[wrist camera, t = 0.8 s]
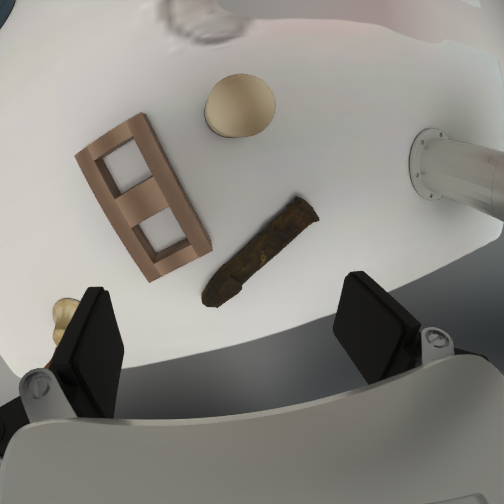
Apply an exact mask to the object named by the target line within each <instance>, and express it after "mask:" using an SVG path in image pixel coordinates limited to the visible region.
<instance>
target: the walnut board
mask: <svg viewBox="0 0 504 504" xmlns="http://www.w3.org/2000/svg"><path fill="white" fill-rule="evenodd" d="M132 139H135V141H136V143H137V145H138V147H139V149H140V151H141V153H142V155H143V157H144V159H145V161H146V163H147V165H148V167H149V169H150V171H151V173H152V175H153V176H151V177H149V178H148V179H146V180H144V181H142V182H141V183H139V184H137V185H136V186H134V187H132V188H131V189H129V190H127V191H126V192H124V193H122V194H121V193H120V191H119V190H118V188H117V186H116V184H115V182H114V180H113V178H112V177H111V175H110V173H109V171H108V169H107V167H106V165H105V163H104V161H103V159H102V158H103V157H105V156H106V155H108V154H110V153H111V152H113V151H114V150H116V149H117V148H119V147H121V146H122V145H124V144H125V143H127V142H129V141H130V140H132ZM75 158H76V160H77V162H78V164H79V166H80V168H81V170H82V172H83V174H84V176H85V178H86V180H87V182H88V184H89V186H90V188H91V189H92V191H93V193H94V195H95V197H96V199H97V200H98V202H99V204H100V206H101V208H102V209H103V211H104V213H105V214H106V216H107V218H108V220H109V221H110V223H111V225H112V226H113V228H114V230H115V231H116V233H117V235H118V236H119V238H120V239H121V241H122V243H123V244H124V246H125V247H126V249H127V250H128V252H129V254H130V255H131V257H132V258H133V260H134V261H135V263H136V264H137V266H138V267H139V269H140V270H141V272H142V273H143V275H144V276H145V277H146V279H147V280H148V282H149V283H150V282H152V281H154V280H156V279H158V278H160V277H162V276H164V275H166V274H168V273H170V272H172V271H174V270H175V269H177V268H179V267H181V266H183V265H185V264H187V263H189V262H191V261H193V260H195V259H197V258H199V257H201V256H203V255H205V254H207V253H209V252H211V251H213V249H212V244H211V241H210V239H209V237H208V235H207V233H206V231H205V229H204V228H203V226H202V224H201V222H200V220H199V218H198V216H197V215H196V213H195V211H194V209H193V207H192V205H191V203H190V201H189V199H188V197H187V196H186V194H185V192H184V190H183V188H182V186H181V184H180V182H179V180H178V178H177V176H176V174H175V172H174V170H173V168H172V166H171V165H170V163H169V161H168V159H167V157H166V155H165V153H164V151H163V149H162V147H161V145H160V143H159V141H158V139H157V137H156V135H155V133H154V130H153V128H152V126H151V124H150V122H149V120H148V118H147V116H146V114H144V113H142V112H141V113H139V114H137V115H135V116H134V117H132V118H130V119H128V120H127V121H125V122H123V123H122V124H120V125H119V126H117V127H115V128H114V129H112V130H111V131H109V132H108V133H106V134H104V135H103V136H101V137H100V138H99V139H97V140H96V141H94V142H93V143H91V144H90V145H88V146H87V147H86V148H84V149H83V150H81V151H80V152H79V153H77V154H76V155H75ZM169 206H170V208H171V210H172V212H173V214H174V215H175V217H176V219H177V221H178V223H179V224H180V226H181V228H182V230H183V232H184V233H185V235H186V237H187V238H186V239H184V240H182V241H180V242H178V243H176V244H174V245H172V246H170V247H169V248H167V249H165V250H163V251H161V252H159V253H157V254H156V253H155V251H154V249H153V248H152V246H151V245H150V243H149V241H148V240H147V238H146V236H145V235H144V233H143V232H142V230H141V228H140V226H139V225H138V224H139V223H140V222H142V221H144V220H146V219H147V218H149V217H151V216H153V215H155V214H156V213H158V212H160V211H162V210H164V209H165V208H167V207H169Z"/></svg>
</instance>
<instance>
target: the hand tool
mask: <svg viewBox="0 0 504 504" xmlns="http://www.w3.org/2000/svg"><path fill="white" fill-rule="evenodd" d="M317 221H319V217H318V216H317V214H316V212H315V211H314V209H313V207H312V206H310V205H309V204H308V203H307V202H306V201H305V200H304V199H302V198H301V197H296V198H295V201H294V203H293V204H290V205H288V206H287V209H286V210H285V211H284V212H283V213H282V214H281V215H280V216H279V217H277V218H276V219H275V220H274V221H273V222H272V223H271V224H270V226H268V227H267V228H266V229H265V230H264V231H263V232H262V233H259V234H258V236H257V237H256V238H255V239H254V240H253V241H252V242H251V243H250V244H249V245H248V246H247V247H245V248H244V249H243V250H242V251H241V252H240V253H239V254H238V255H237V256H236V257H235V258H233V259H232V260H231V261H230V262H229V263H227V264H224V265H223V266H222V267H221V268H220V269H219V270H218V271H217V272H216V273H215V275H214V276H213V278H212V279H211V280H210V282H209V283H208V285H207V286H206V288H205V290H204V292H203V293H202V297H201V298H202V303H203V304H204V305H205V306H206V307H216V308H218V307H219V306H221V305H222V304H223V303H225V302H226V301H227V300H229V299H230V298H232V297H234V296H235V295H237V294H238V293H239V292H240V291H241V290H242V285H243V284H244V283H245V282H246V281H247V280H248V279H249V278H250V277H251V276H252V275H253V274H254V273H255V272H256V271H258V270H259V269H261V268H262V267H263V266H264V265H265V264H266V263H267V262H269V261H270V260H271V259H272V258H273V257H274V256H276V255H277V254H278V253H279V252H280V251H281V250H282V249H283V248H284V247H286V246H287V245H288V244H289V243H290V242H291V241H292V240H293V239H295V238H296V237H297V236H298V235H299V234H300V233H301V232H302V231H303V230H304V229H305V228H307V227H308V226H309V225H310V224H312V223H313V222H317Z"/></svg>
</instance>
